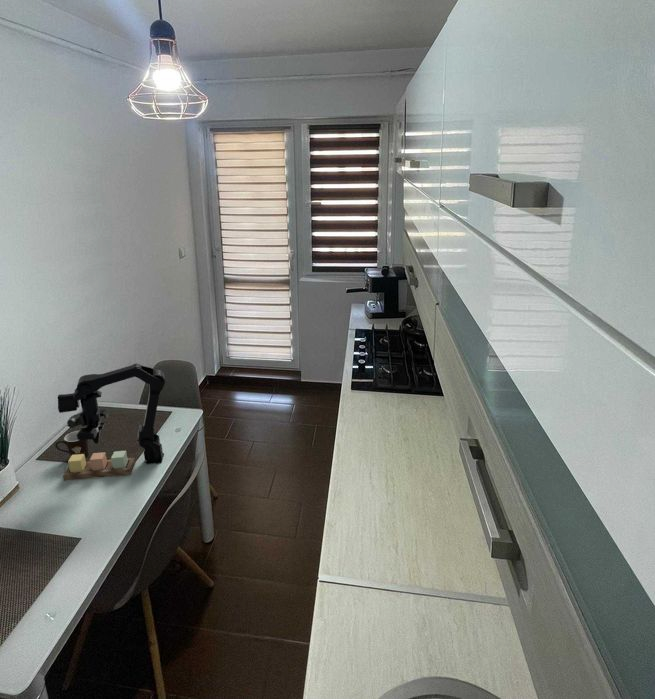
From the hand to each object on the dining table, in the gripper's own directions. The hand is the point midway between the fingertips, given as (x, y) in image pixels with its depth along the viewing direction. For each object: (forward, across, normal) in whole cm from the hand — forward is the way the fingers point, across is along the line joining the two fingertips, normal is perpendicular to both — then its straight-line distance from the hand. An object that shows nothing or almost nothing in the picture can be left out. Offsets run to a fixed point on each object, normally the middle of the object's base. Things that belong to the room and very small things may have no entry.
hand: (96, 443), depth 193 cm
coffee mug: (+13, -11, -13) cm, 22 cm away
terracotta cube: (+10, +1, 0) cm, 10 cm away
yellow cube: (+10, +1, -8) cm, 13 cm away
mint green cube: (+10, +1, +8) cm, 13 cm away
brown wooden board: (+12, +1, 0) cm, 12 cm away
